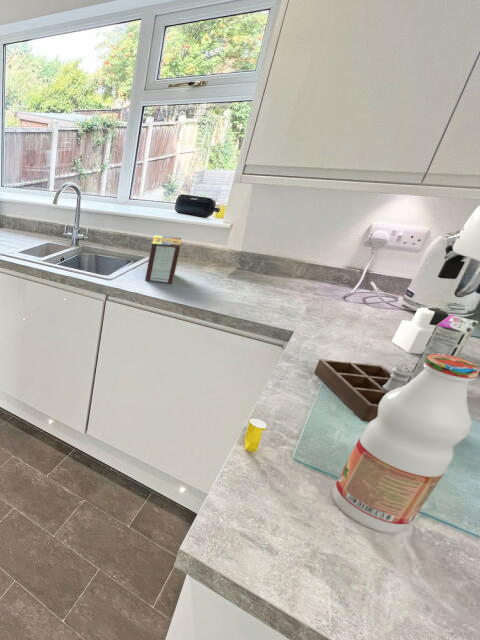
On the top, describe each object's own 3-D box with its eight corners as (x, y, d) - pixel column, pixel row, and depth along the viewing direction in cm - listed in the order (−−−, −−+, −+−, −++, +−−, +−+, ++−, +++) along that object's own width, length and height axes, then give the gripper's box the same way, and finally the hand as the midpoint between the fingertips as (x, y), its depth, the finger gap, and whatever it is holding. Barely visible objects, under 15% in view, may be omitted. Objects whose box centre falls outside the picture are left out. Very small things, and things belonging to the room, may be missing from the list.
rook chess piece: (385, 391, 97) (401, 362, 93) (407, 402, 93) (423, 372, 89) (369, 393, 96) (384, 363, 92) (390, 404, 92) (407, 374, 88)
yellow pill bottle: (240, 435, 84) (248, 411, 81) (256, 440, 82) (265, 416, 80) (241, 454, 79) (250, 429, 76) (258, 459, 78) (268, 434, 75)
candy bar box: (418, 372, 106) (449, 313, 99) (445, 381, 102) (480, 321, 95) (403, 384, 101) (435, 324, 94) (431, 395, 97) (468, 332, 90)
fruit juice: (354, 530, 64) (443, 377, 52) (318, 483, 72) (388, 342, 60) (424, 540, 62) (532, 384, 51) (379, 491, 71) (463, 348, 59)
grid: (374, 379, 103) (382, 365, 101) (437, 430, 85) (447, 414, 84) (313, 372, 105) (319, 358, 104) (361, 421, 88) (369, 405, 86)
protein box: (173, 273, 177) (181, 237, 171) (172, 284, 165) (181, 246, 158) (147, 269, 181) (154, 234, 175) (144, 280, 169) (151, 243, 162)
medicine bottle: (419, 344, 120) (440, 306, 115) (439, 356, 113) (461, 316, 108) (390, 341, 121) (409, 304, 116) (408, 353, 115) (428, 314, 110)
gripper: (582, 212, 72) (526, 302, 80) (493, 197, 88) (452, 274, 95) (529, 210, 74) (478, 298, 81) (450, 196, 89) (414, 271, 96)
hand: (464, 285), depth 88 cm, fingers open, 9 cm apart
